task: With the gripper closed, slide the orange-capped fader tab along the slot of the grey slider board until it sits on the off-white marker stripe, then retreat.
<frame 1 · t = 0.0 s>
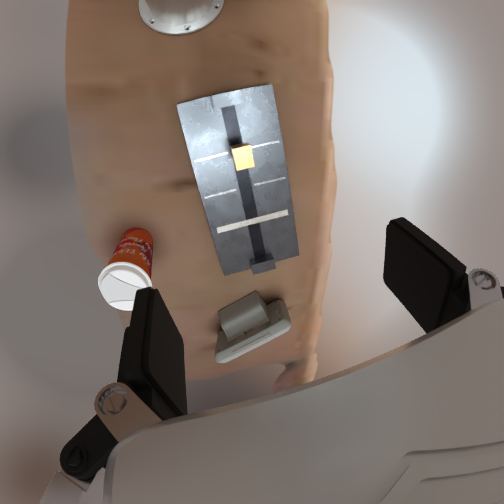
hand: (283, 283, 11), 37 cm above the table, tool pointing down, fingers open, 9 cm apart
fader tab: (240, 154, 39), point 5 cm above the table, slide at 0.0 cm
digital clock: (246, 312, 61), on the table
paper cup: (137, 241, 48), on the table
grey slider board: (243, 183, 47), on the table
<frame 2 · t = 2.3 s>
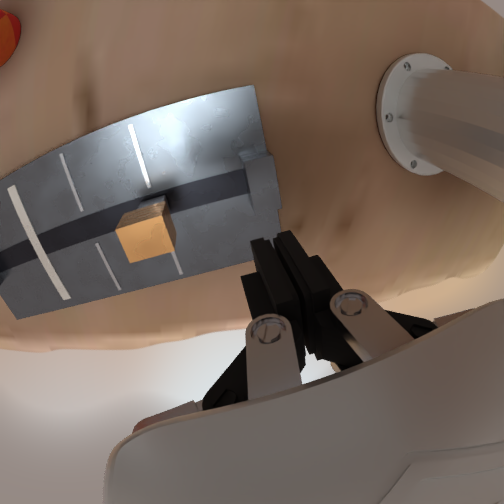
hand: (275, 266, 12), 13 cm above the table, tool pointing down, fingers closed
fader tab: (150, 221, 19), point 5 cm above the table, slide at 0.0 cm
grey slider board: (96, 216, 23), on the table
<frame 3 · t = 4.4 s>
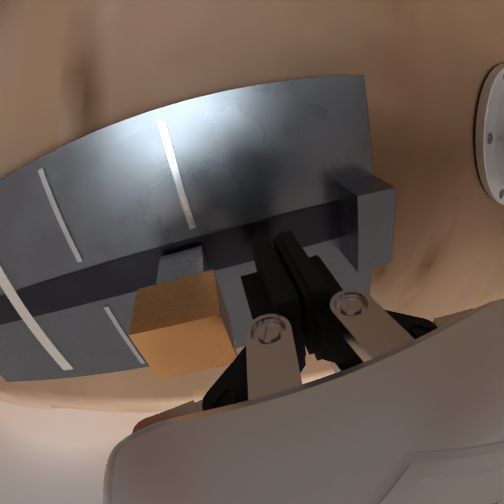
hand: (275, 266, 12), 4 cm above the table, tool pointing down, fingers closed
fader tab: (184, 299, 11), point 5 cm above the table, slide at 0.8 cm, touching gripper
grey slider board: (102, 263, 15), on the table
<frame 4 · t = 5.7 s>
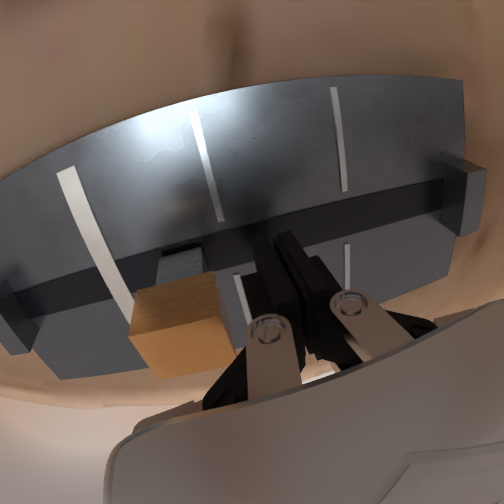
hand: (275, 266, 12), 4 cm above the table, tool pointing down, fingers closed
fader tab: (184, 301, 11), point 5 cm above the table, slide at 8.2 cm, touching gripper
grey slider board: (224, 230, 16), on the table
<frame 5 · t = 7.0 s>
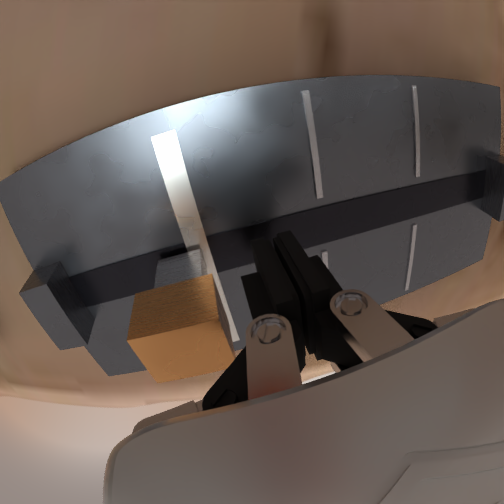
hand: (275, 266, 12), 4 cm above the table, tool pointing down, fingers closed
fader tab: (183, 303, 11), point 5 cm above the table, slide at 12.9 cm, touching gripper
grey slider board: (307, 210, 16), on the table
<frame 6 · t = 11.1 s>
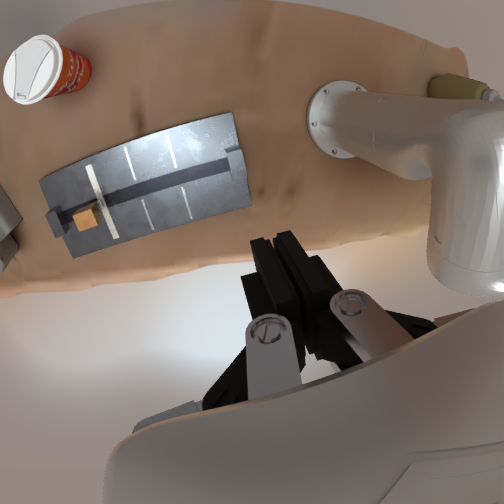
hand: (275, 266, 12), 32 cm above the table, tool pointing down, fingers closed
fader tab: (90, 212, 35), point 5 cm above the table, slide at 13.0 cm
squeeze bottle: (437, 92, 40), on the table
paper cup: (74, 73, 30), on the table
grey slider board: (141, 185, 40), on the table
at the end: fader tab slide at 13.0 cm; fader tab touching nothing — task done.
